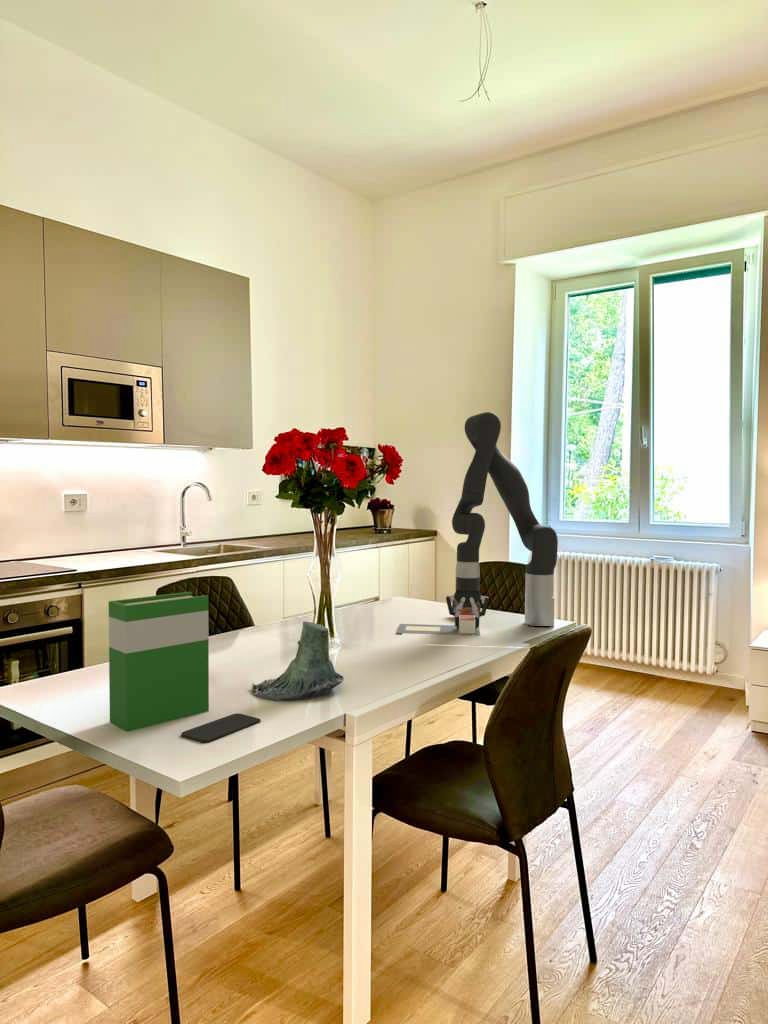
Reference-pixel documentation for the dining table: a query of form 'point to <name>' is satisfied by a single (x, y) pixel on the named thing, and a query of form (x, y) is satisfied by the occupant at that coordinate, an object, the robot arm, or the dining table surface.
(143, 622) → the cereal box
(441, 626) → the mat
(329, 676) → the tree stump
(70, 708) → the dining table surface
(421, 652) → the dining table surface
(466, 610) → the tin
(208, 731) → the phone
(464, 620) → the card deck
